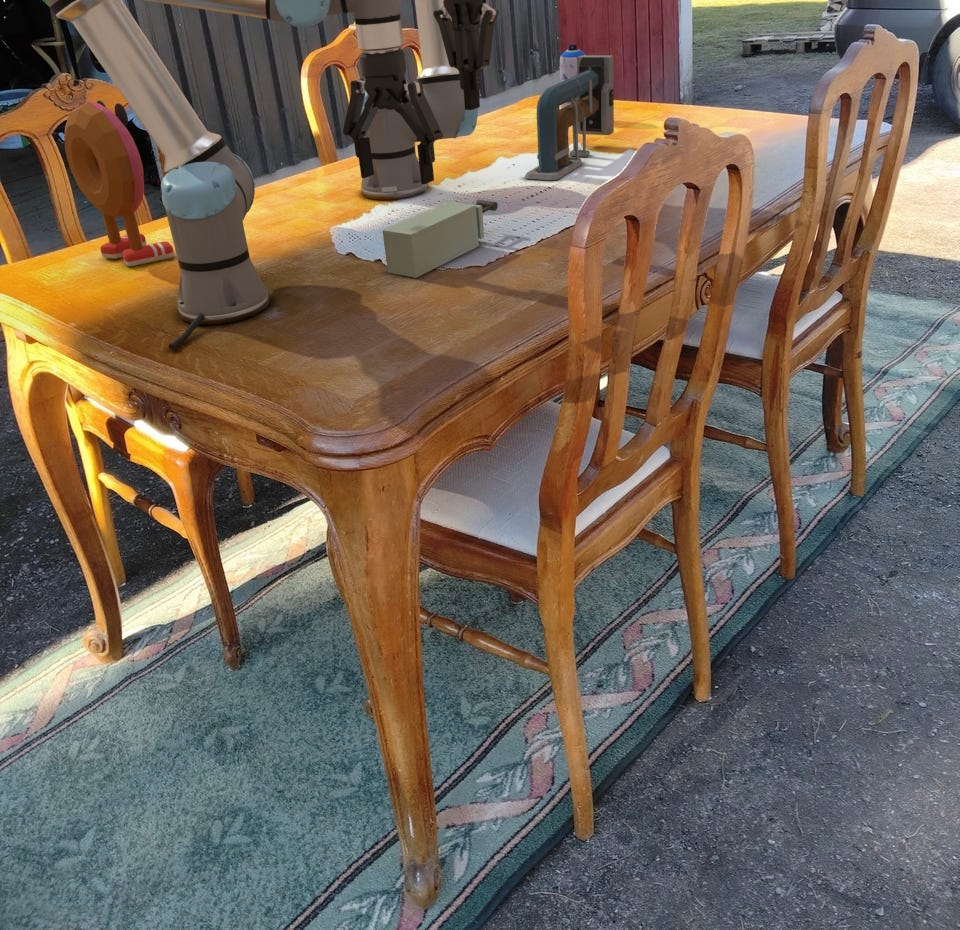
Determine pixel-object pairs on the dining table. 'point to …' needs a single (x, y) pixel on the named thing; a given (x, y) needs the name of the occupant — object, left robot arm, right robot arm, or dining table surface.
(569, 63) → the aerosol can
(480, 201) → the drawer
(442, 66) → the right robot arm
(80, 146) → the toy
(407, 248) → the cabinet
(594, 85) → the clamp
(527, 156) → the dining table surface
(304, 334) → the dining table surface
